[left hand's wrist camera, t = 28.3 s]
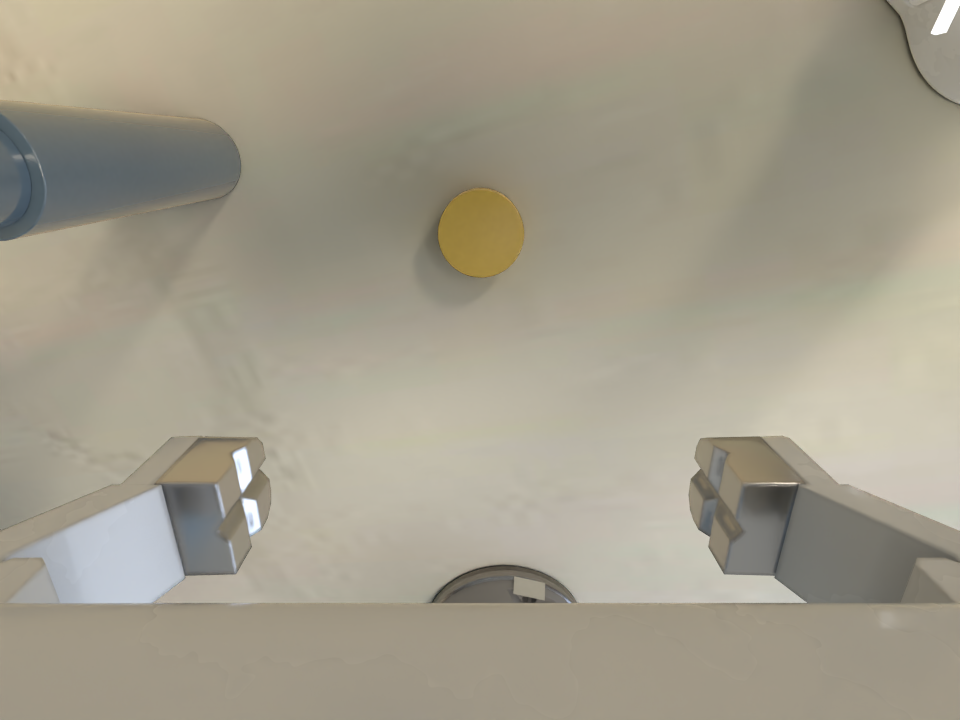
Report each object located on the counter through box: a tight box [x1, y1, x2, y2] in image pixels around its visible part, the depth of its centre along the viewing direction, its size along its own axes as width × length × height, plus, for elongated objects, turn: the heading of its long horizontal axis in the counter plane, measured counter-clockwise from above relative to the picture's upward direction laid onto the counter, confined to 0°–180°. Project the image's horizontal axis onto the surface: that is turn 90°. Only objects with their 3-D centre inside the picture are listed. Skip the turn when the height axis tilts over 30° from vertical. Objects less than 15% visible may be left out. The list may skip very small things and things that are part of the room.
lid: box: [438, 188, 524, 277], centre depth 38 cm, size 6×6×2 cm
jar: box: [0, 100, 241, 241], centre depth 28 cm, size 5×5×20 cm
